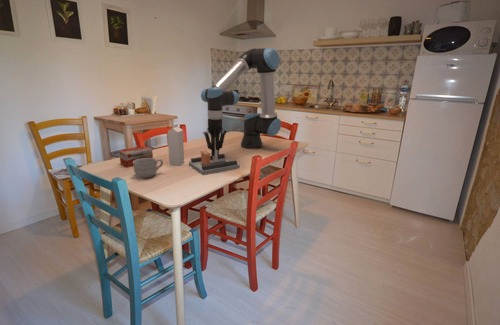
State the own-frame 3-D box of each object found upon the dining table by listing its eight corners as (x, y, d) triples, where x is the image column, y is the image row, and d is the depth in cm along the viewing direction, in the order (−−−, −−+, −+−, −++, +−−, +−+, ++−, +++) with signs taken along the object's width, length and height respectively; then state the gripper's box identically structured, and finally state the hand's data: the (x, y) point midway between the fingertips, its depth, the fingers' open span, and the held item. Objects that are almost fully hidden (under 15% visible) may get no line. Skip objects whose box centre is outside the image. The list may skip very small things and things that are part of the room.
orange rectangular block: (205, 162, 155) (205, 150, 153) (210, 165, 150) (210, 153, 148) (201, 163, 154) (200, 150, 152) (205, 166, 149) (205, 153, 147)
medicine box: (126, 168, 149) (125, 153, 146) (120, 164, 154) (118, 150, 151) (153, 162, 159) (152, 148, 157) (146, 159, 164) (145, 145, 162)
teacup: (134, 180, 132) (133, 164, 129) (133, 173, 141) (132, 157, 139) (165, 177, 137) (164, 161, 135) (162, 170, 147) (161, 155, 144)
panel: (223, 159, 168) (223, 156, 168) (239, 168, 154) (239, 164, 154) (188, 165, 156) (188, 161, 156) (202, 175, 142) (202, 171, 142)
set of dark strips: (223, 157, 166) (223, 153, 166) (237, 164, 154) (237, 161, 153) (191, 161, 156) (191, 158, 155) (203, 170, 143) (203, 166, 142)
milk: (169, 164, 156) (166, 125, 149) (174, 161, 161) (172, 123, 154) (179, 166, 154) (177, 126, 147) (184, 162, 160) (182, 124, 153)
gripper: (222, 116, 154) (222, 157, 161) (200, 117, 147) (201, 160, 154) (229, 118, 148) (228, 161, 155) (206, 120, 141) (207, 164, 148)
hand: (215, 161), depth 155 cm, fingers closed
